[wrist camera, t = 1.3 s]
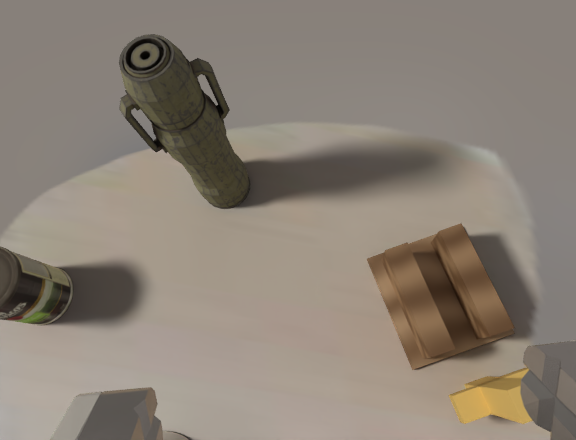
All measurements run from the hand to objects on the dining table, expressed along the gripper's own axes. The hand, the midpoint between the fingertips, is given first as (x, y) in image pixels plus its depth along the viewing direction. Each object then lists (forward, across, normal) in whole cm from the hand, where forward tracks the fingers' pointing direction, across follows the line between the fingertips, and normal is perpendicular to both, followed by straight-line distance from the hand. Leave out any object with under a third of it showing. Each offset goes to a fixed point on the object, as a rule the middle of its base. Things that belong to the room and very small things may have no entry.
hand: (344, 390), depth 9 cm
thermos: (+69, -7, -10) cm, 70 cm away
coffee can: (+64, -40, -26) cm, 79 cm away
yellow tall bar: (+42, +28, -38) cm, 63 cm away
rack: (+51, +25, -26) cm, 63 cm away
